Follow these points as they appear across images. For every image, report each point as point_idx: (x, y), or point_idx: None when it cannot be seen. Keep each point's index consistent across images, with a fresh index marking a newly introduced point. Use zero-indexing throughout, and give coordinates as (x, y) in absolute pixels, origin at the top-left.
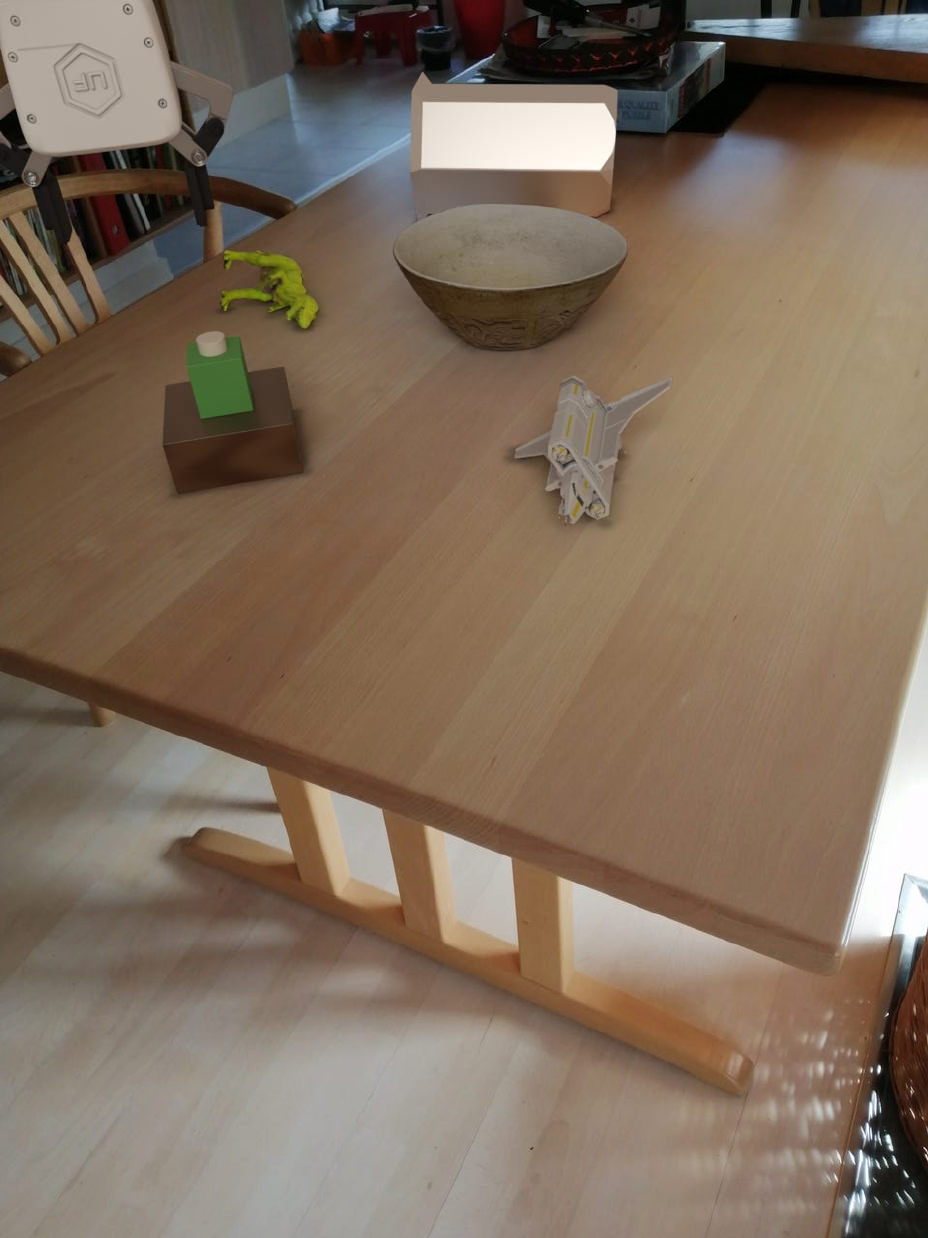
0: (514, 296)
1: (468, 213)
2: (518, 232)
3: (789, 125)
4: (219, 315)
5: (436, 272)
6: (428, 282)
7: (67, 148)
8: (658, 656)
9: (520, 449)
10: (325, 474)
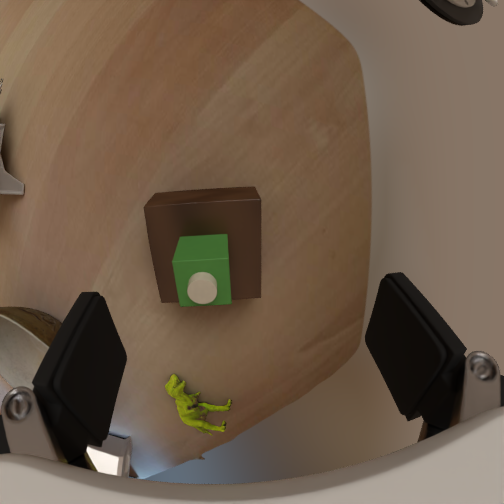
0: (3, 312)
1: None
2: None
3: None
4: (232, 396)
5: None
6: None
7: (463, 447)
8: (11, 11)
9: (20, 190)
10: (137, 187)
